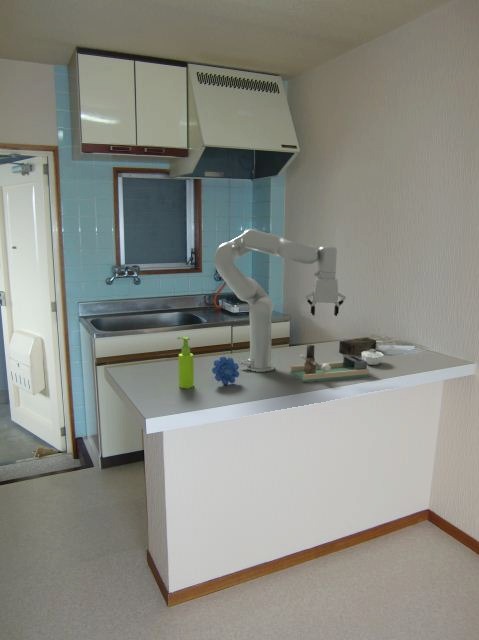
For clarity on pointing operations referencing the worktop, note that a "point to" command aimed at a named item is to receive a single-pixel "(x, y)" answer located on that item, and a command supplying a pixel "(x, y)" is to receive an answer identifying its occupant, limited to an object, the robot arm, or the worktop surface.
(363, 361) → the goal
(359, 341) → the beverage carton
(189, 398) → the worktop surface
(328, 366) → the ball
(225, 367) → the blue knobbed wheel
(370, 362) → the cell model
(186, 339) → the soap dispenser
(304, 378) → the pitch
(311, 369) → the kicker
